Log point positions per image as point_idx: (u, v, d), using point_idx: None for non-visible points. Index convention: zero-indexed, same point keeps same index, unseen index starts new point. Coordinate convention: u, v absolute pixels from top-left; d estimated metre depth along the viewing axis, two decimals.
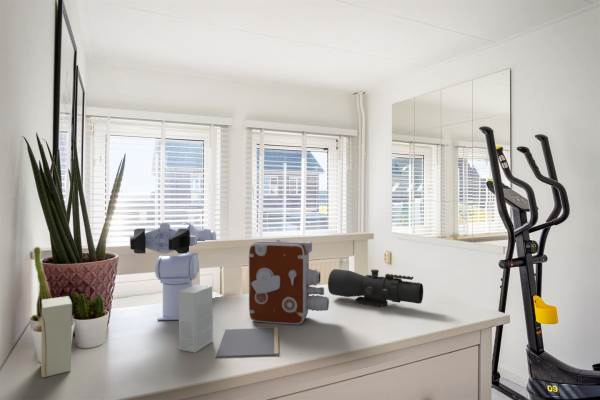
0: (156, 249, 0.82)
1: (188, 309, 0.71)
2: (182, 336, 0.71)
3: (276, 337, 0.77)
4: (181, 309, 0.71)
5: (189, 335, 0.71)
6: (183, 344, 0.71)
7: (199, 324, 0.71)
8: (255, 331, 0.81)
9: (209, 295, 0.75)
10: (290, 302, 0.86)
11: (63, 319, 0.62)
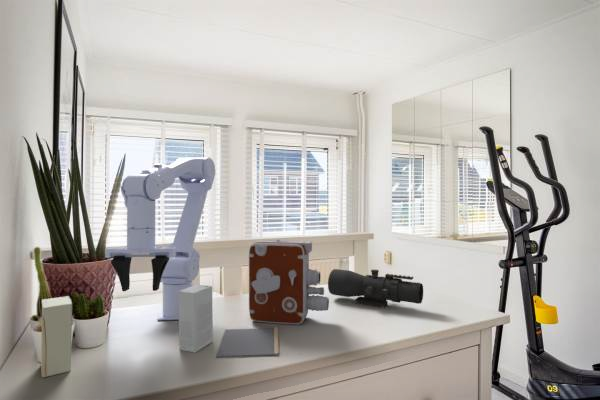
0: None
1: (188, 309, 0.71)
2: (182, 336, 0.71)
3: (276, 337, 0.77)
4: (181, 309, 0.71)
5: (189, 335, 0.71)
6: (183, 344, 0.71)
7: (199, 324, 0.71)
8: (255, 331, 0.81)
9: (209, 295, 0.75)
10: (290, 302, 0.86)
11: (63, 319, 0.62)
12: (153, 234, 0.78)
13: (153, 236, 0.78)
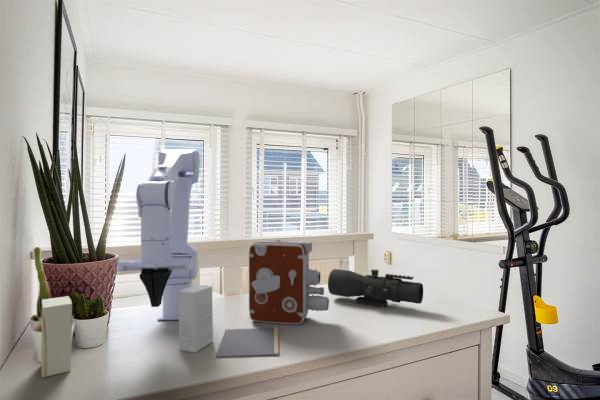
0: None
1: (188, 309, 0.71)
2: (182, 336, 0.71)
3: (276, 337, 0.77)
4: (181, 309, 0.71)
5: (189, 335, 0.71)
6: (183, 344, 0.71)
7: (199, 324, 0.71)
8: (255, 331, 0.81)
9: (209, 295, 0.75)
10: (290, 302, 0.86)
11: (63, 319, 0.62)
12: (169, 246, 0.73)
13: (169, 248, 0.73)
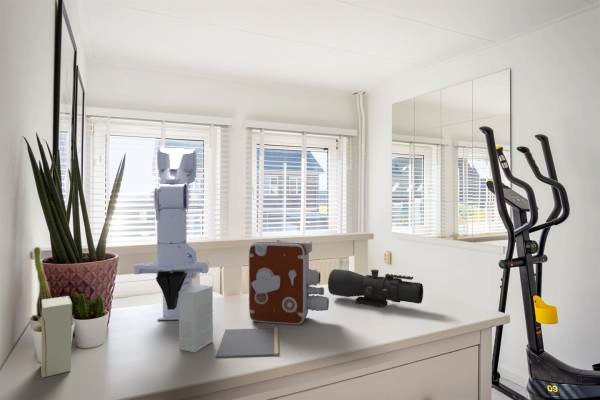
0: None
1: (188, 309, 0.71)
2: (182, 336, 0.71)
3: (276, 337, 0.77)
4: (181, 309, 0.71)
5: (189, 335, 0.71)
6: (183, 344, 0.71)
7: (199, 324, 0.71)
8: (255, 331, 0.81)
9: (210, 295, 0.75)
10: (290, 302, 0.86)
11: (63, 319, 0.62)
12: (185, 249, 0.73)
13: (185, 251, 0.73)
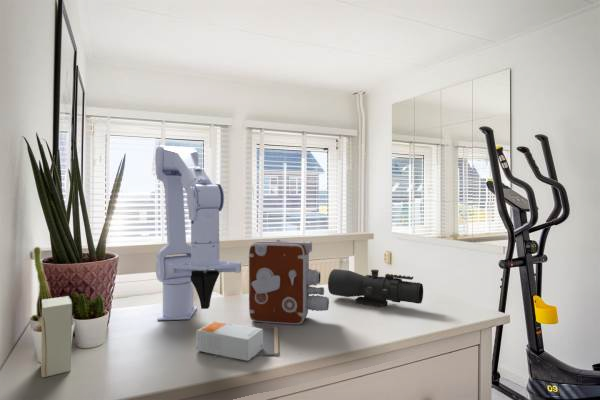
0: None
1: (231, 350, 0.67)
2: (207, 337, 0.69)
3: (276, 337, 0.77)
4: (231, 340, 0.67)
5: (209, 346, 0.69)
6: (201, 337, 0.70)
7: None
8: None
9: None
10: (290, 302, 0.86)
11: (63, 319, 0.62)
12: (218, 248, 0.74)
13: (218, 250, 0.74)
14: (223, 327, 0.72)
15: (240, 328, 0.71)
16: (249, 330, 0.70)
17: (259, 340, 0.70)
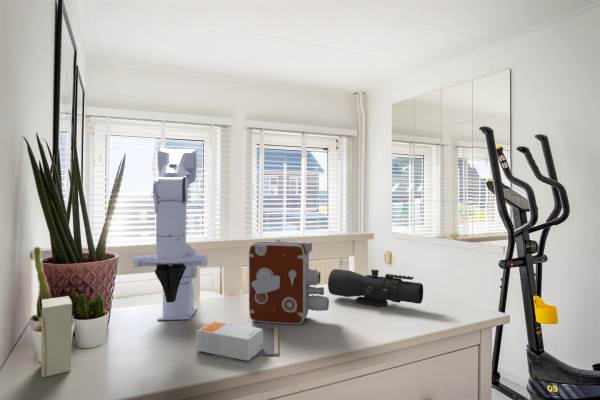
0: None
1: (231, 350, 0.67)
2: (207, 337, 0.69)
3: (276, 337, 0.77)
4: (231, 340, 0.67)
5: (209, 346, 0.69)
6: (201, 337, 0.70)
7: None
8: None
9: None
10: (290, 302, 0.86)
11: (63, 319, 0.62)
12: (184, 241, 0.73)
13: (184, 244, 0.73)
14: (223, 327, 0.72)
15: (240, 328, 0.71)
16: (249, 330, 0.70)
17: (259, 340, 0.70)
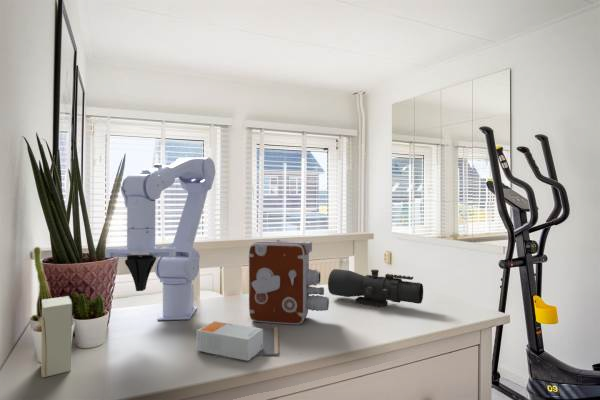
0: None
1: (231, 350, 0.67)
2: (207, 337, 0.69)
3: (276, 337, 0.77)
4: (231, 340, 0.67)
5: (209, 346, 0.69)
6: (201, 337, 0.70)
7: None
8: None
9: None
10: (290, 302, 0.86)
11: (63, 319, 0.62)
12: (153, 234, 0.78)
13: (153, 236, 0.78)
14: (223, 327, 0.72)
15: (240, 328, 0.71)
16: (249, 330, 0.70)
17: (259, 340, 0.70)
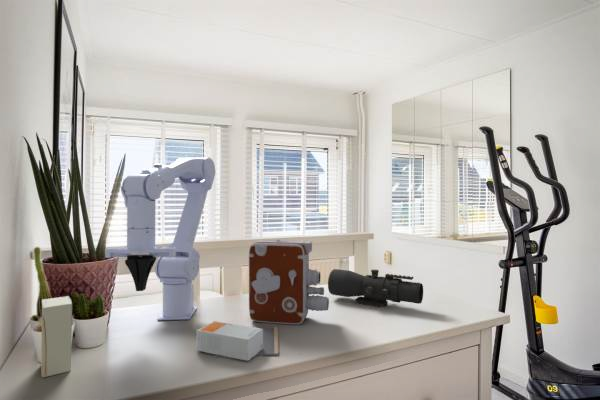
0: None
1: (231, 350, 0.67)
2: (207, 337, 0.69)
3: (276, 337, 0.77)
4: (231, 340, 0.67)
5: (209, 346, 0.69)
6: (201, 337, 0.70)
7: None
8: None
9: None
10: (290, 302, 0.86)
11: (63, 319, 0.62)
12: (153, 234, 0.78)
13: (153, 236, 0.78)
14: (223, 327, 0.72)
15: (240, 328, 0.71)
16: (249, 330, 0.70)
17: (259, 340, 0.70)
